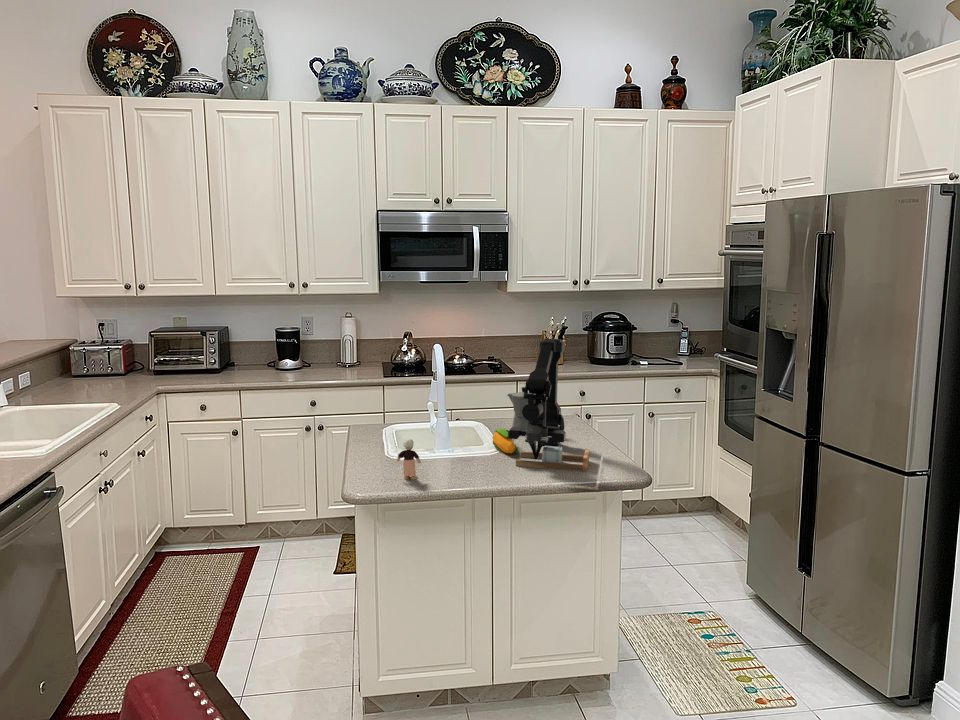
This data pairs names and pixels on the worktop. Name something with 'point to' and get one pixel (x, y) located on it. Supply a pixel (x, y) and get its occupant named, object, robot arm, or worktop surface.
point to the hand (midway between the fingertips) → (536, 459)
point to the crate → (552, 454)
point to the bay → (556, 465)
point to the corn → (504, 441)
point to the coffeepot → (519, 409)
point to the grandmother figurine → (409, 460)
